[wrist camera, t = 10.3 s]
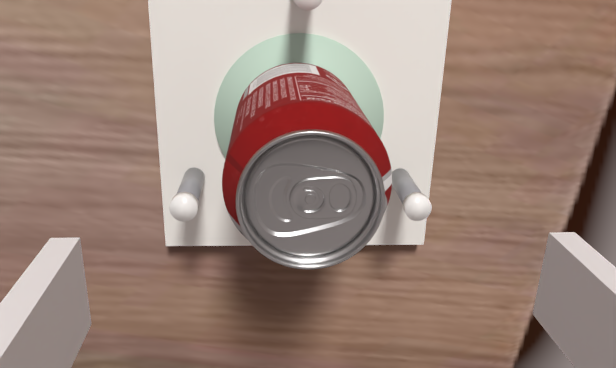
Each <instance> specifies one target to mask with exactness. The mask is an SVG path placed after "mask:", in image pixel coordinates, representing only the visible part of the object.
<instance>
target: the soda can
mask: <svg viewBox="0 0 616 368" xmlns="http://www.w3.org/2000/svg"><path fill="white" fill-rule="evenodd" d="M391 190H392V170H391V164H390V160H389V157H388V154H387V151H386V149H385V147H384V145H383V143H382V141H381V139H380V138H379V136H378V135H377V133H376V132H375V130H374V128H373V127H372V125H371V124H370V122H369V121H368V119H367V118H366V116H365V115H364V113H363V112H362V110H361V108H360V107H359V105H358V104H357V102H356V101H355V99H354V98H353V96H352V95H351V93H350V92H349V90H348V88H347V87H346V86H345V85H344V83H343V82H342V81H341V80H340V79H339V78H338V77H336V76H335V75H334V74H332V73H331V72H330V71H328V70H326V69H324V68H322V67H319V66H316V65H313V64H309V63H301V62H293V63H285V64H281V65H278V66H275V67H272V68H270V69H268V70H266V71H264V72H263V73H261V74H260V75H259V76H257V77H256V78H255V79H254V80H253V81H252V82H251V83H250V84H249V86H248V87H247V88H246V90H245V91H244V93H243V95H242V97H241V99H240V101H239V104H238V107H237V111H236V115H235V119H234V124H233V128H232V132H231V137H230V141H229V146H228V150H227V154H226V159H225V163H224V168H223V174H222V191H223V198H224V202H225V206H226V209H227V211H228V214H229V216H230V218H231V220H232V221H233V223H234V225H235V226H236V228H237V229H238V230H239V231H240V233H241V234H242V235H243V236H244V237H245V238H246V239H247V240H248V241H249V242H250V243H251V244H252V245H253V246H254V248H255V249H256V250H258V251H259V252H260V253H261V254H262V255H264V256H265V257H267V258H268V259H270V260H272V261H274V262H276V263H278V264H281V265H284V266H287V267H291V268H297V269H320V268H326V267H330V266H333V265H336V264H339V263H341V262H343V261H345V260H347V259H349V258H350V257H352V256H354V255H355V254H356V253H358V252H359V251H360V250H361V249H362V248H364V246H365V245H366V244H367V243H368V242H369V241H370V240H371V238H372V237H373V236H374V234H375V233H376V231H377V229H378V227H379V225H380V222H381V220H382V217H383V215H384V213H385V211H386V208H387V206H388V203H389V199H390V195H391Z"/></svg>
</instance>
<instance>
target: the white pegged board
mask: <svg viewBox="0 0 616 368" xmlns="http://www.w3.org/2000/svg"><path fill="white" fill-rule="evenodd" d="M148 7H149V20H150V34H151V48H152V62H153V76H154V90H155V103H156V117H157V131H158V145H159V159H160V173H161V186H162V200H163V214H164V228H165V242H166V246H253V245H252V244H251V243H250V242H249V241H248V240H247V239H246V238H245V237H244V236H243V235H242V234H241V233H240V231H239V230H238V229H237V228H236V226H235V225H234V223H233V221H232V220H231V218H230V216H229V214H228V211H227V209H226V206H225V202H224V198H223V191H222V174H223V168H224V163H225V159H226V154H227V150H228V146H229V141H230V137H231V132H232V128H233V124H234V119H235V115H236V111H237V107H238V104H239V101H240V99H241V97H242V95H243V93H244V91H245V90H246V88H247V87H248V86H249V84H250V83H251V82H252V81H253V80H254V79H255V78H256V77H257V76H259V75H260V74H261V73H263V72H264V71H266V70H268V69H270V68H272V67H275V66H278V65H281V64H285V63H293V62H301V63H309V64H313V65H316V66H319V67H322V68H324V69H326V70H328V71H330V72H331V73H332V74H334V75H335V76H336V77H338V78H339V79H340V80H341V81H342V82H343V83H344V85H345V86H346V87H347V88H348V90H349V92H350V93H351V95H352V96H353V98H354V99H355V101H356V102H357V104H358V105H359V107H360V108H361V110H362V112H363V113H364V115H365V116H366V118H367V119H368V121H369V122H370V124H371V125H372V127H373V128H374V130H375V132H376V133H377V135H378V136H379V138H380V139H381V141H382V143H383V145H384V147H385V149H386V151H387V154H388V157H389V160H390V164H391V170H392V190H391V195H390V199H389V203H388V206H387V208H386V211H385V213H384V215H383V217H382V220H381V222H380V225H379V227H378V229H377V231H376V233H375V234H374V236H373V237H372V238H371V240H370V241H369V242H368V243H367V244H366V245H424V237H425V228H426V219H427V217H428V216H429V214H430V212H431V209H432V206H431V203H430V201H429V193H430V184H431V175H432V167H433V158H434V149H435V140H436V132H437V123H438V114H439V105H440V97H441V88H442V79H443V70H444V62H445V53H446V44H447V35H448V27H449V18H450V9H451V0H148Z"/></svg>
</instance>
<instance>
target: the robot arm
mask: <svg viewBox="0 0 616 368" xmlns="http://www.w3.org/2000/svg"><path fill="white" fill-rule="evenodd" d="M533 315H534V316H535V317H536V319H537V320H538V321H539V323H540V324H541V325H542V326H543V328H544V329H545V330H546V332H547V333H548V334H549V335H550V337H551V338H552V339H553V340H554V342H555V343H556V344H557V346H558V347H559V348H560V349H561V351H562V352H563V353H564V355H565V356H566V357H567V358H568V360H569V361H570V362H571V364H572V365H573V366H574V367H575V368H616V267H615V266H613V265H612V264H611V263H610V262H609V261H608V260H606V259H605V258H604V257H603V256H602V255H601V254H599V253H598V252H597V251H596V250H595V249H594V248H592V247H591V246H590V245H589V244H588V243H586V242H585V241H584V240H583V239H582V238H581V237H579V236H578V235H577V234H576V233H574V232H570V233H569V232H561V233H549V236H548V241H547V246H546V251H545V256H544V260H543V265H542V270H541V275H540V280H539V285H538V290H537V295H536V300H535V305H534V310H533ZM90 326H91V317H90V309H89V302H88V295H87V287H86V280H85V272H84V265H83V257H82V250H81V242H80V238H50V239H49V241H48V242H47V243H46V244H45V246H44V247H43V248H42V250H41V251H40V252H39V254H38V255H37V256H36V257H35V259H34V260H33V261H32V263H31V264H30V265H29V267H28V268H27V269H26V270H25V272H24V273H23V274H22V276H21V277H20V278H19V280H18V281H17V282H16V283H15V285H14V286H13V287H12V289H11V290H10V291H9V293H8V294H7V295H6V297H5V298H4V299H3V300H2V302H1V303H0V368H71V366H72V364H73V362H74V360H75V358H76V356H77V354H78V352H79V349H80V347H81V345H82V343H83V341H84V339H85V337H86V335H87V332H88V330H89V328H90Z"/></svg>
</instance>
